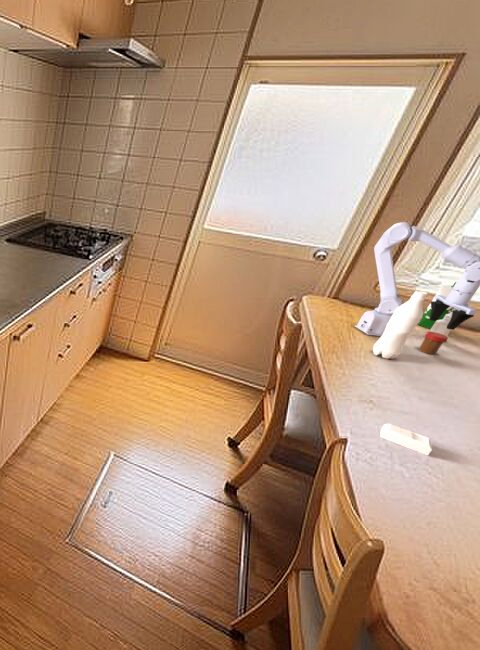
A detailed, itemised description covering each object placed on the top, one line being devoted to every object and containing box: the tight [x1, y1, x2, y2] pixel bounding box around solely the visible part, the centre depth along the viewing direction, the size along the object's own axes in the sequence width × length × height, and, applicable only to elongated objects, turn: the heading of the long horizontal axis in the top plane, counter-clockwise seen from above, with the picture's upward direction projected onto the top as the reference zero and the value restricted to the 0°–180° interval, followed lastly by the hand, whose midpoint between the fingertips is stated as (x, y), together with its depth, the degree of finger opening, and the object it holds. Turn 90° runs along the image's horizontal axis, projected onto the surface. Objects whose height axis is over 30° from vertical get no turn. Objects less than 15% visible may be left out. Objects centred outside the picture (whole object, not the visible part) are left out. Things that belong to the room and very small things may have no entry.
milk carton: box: [417, 281, 460, 330], centre depth 178 cm, size 9×9×20 cm
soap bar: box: [380, 423, 433, 457], centre depth 108 cm, size 5×9×3 cm, turn 46°
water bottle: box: [372, 290, 428, 360], centre depth 148 cm, size 7×7×25 cm
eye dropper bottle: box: [428, 312, 452, 337], centre depth 168 cm, size 4×6×12 cm
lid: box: [424, 331, 449, 343], centre depth 157 cm, size 6×6×2 cm
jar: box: [418, 337, 444, 355], centre depth 158 cm, size 5×5×6 cm
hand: (441, 324), depth 158 cm, fingers open, 7 cm apart
